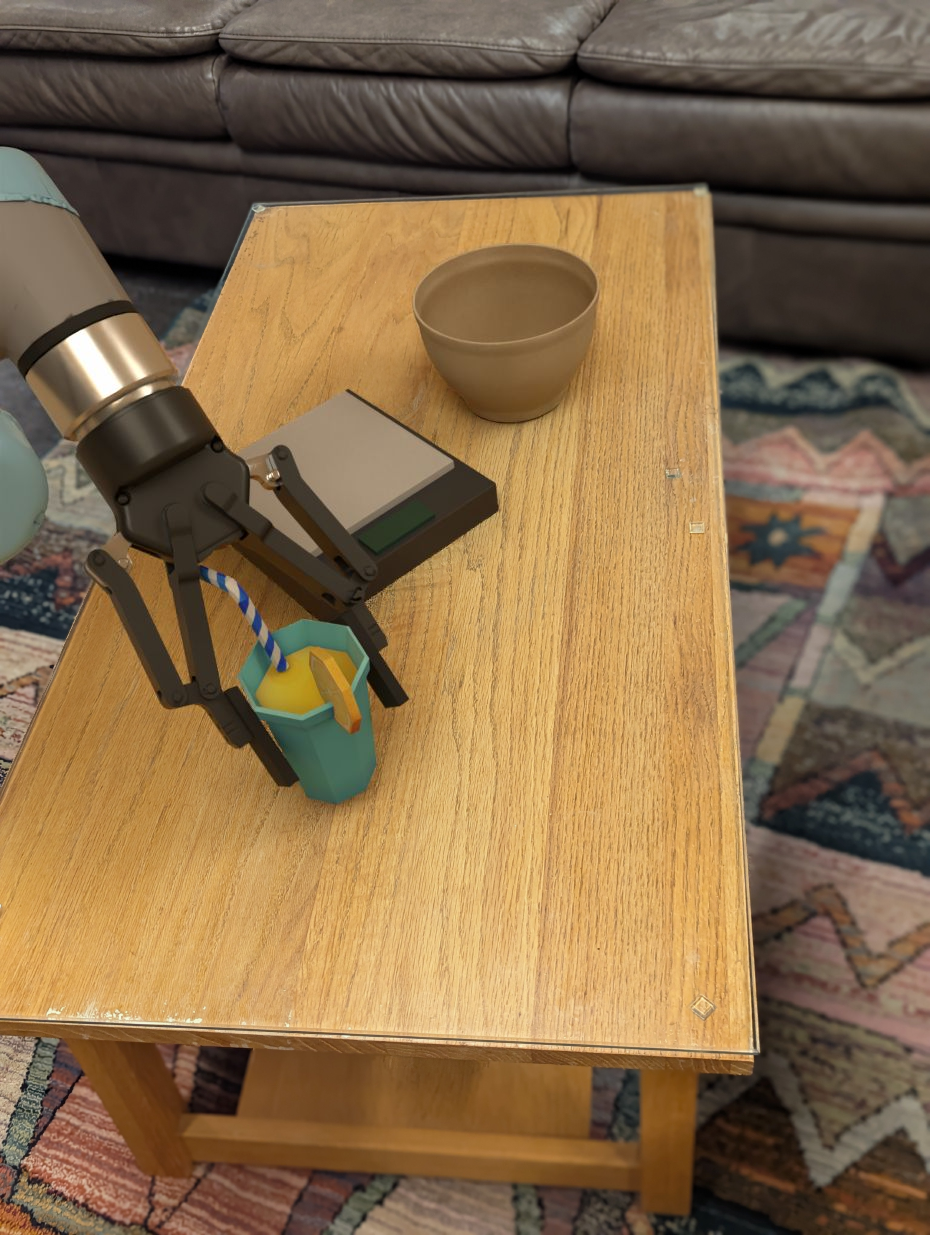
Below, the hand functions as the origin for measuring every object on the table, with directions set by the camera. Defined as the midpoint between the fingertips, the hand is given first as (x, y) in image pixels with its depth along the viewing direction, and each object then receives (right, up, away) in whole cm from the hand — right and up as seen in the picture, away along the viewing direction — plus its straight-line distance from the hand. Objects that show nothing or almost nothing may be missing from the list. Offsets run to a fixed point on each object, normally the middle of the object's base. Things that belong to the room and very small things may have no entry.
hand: (344, 742), depth 65 cm
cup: (-2, -2, +6) cm, 7 cm away
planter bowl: (+12, +28, +36) cm, 47 cm away
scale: (-3, +17, +27) cm, 32 cm away
